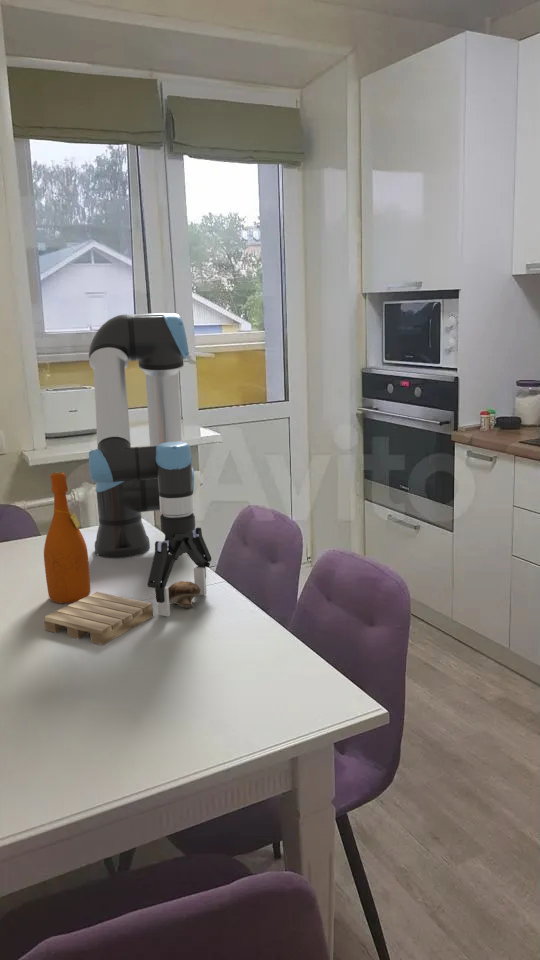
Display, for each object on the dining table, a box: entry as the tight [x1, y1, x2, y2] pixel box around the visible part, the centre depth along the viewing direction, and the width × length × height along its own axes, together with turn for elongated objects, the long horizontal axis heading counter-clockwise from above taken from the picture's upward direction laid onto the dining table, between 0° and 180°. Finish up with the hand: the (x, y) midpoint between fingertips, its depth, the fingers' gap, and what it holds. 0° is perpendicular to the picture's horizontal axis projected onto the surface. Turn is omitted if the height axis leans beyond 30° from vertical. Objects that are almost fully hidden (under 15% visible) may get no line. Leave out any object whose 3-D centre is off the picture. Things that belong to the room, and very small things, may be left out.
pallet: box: [44, 591, 154, 646], centre depth 159 cm, size 16×16×3 cm
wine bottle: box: [43, 471, 91, 604], centre depth 171 cm, size 10×10×30 cm
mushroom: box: [168, 580, 200, 608], centre depth 166 cm, size 8×8×6 cm
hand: (183, 604), depth 167 cm, fingers open, 13 cm apart
